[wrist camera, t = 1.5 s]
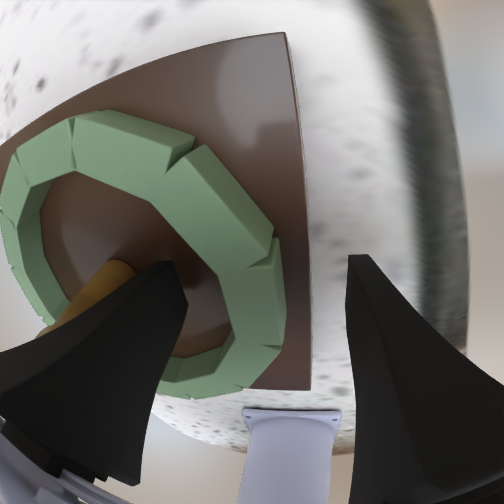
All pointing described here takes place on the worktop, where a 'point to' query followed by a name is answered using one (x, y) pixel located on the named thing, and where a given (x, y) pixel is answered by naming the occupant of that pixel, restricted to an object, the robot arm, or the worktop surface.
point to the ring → (178, 216)
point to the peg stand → (149, 218)
